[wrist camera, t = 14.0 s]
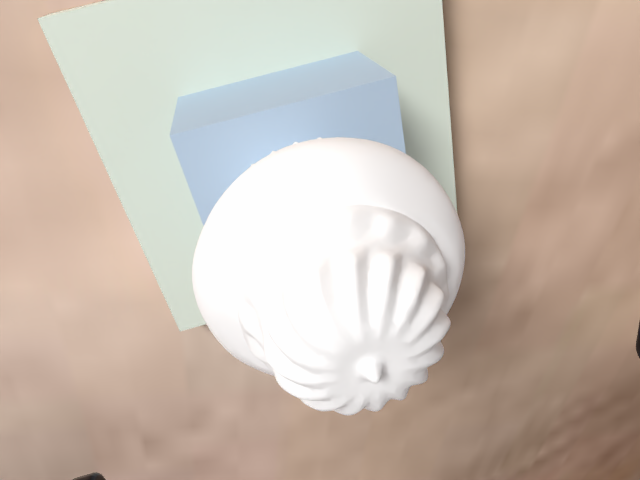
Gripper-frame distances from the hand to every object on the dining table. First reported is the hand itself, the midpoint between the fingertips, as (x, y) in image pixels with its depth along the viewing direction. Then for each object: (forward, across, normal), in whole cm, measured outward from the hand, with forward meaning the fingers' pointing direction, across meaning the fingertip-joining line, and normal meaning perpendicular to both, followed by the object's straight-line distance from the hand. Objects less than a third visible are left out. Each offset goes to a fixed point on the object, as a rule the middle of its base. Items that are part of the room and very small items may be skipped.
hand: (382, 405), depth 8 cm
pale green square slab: (+13, 0, 0) cm, 13 cm away
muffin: (+8, 0, 0) cm, 8 cm away
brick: (+12, 0, 0) cm, 12 cm away
